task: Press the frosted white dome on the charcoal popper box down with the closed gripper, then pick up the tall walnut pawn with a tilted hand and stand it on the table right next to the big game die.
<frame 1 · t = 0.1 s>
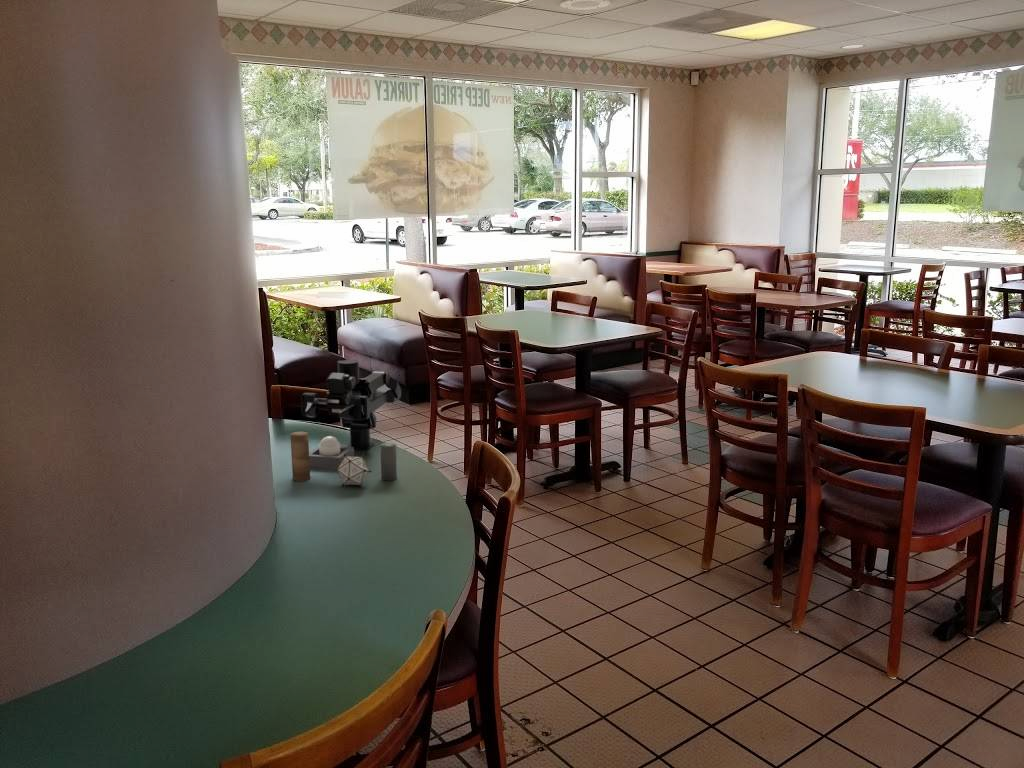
hand: (322, 414, 214), 17 cm above the table, tool horizontal, fingers open, 9 cm apart
dome: (329, 446, 227), point 4 cm above the table, slide at 0.0 cm
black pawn: (389, 478, 216), on the table
walnut pawn: (301, 478, 215), on the table
game die: (353, 486, 210), on the table
popper box: (330, 462, 228), on the table
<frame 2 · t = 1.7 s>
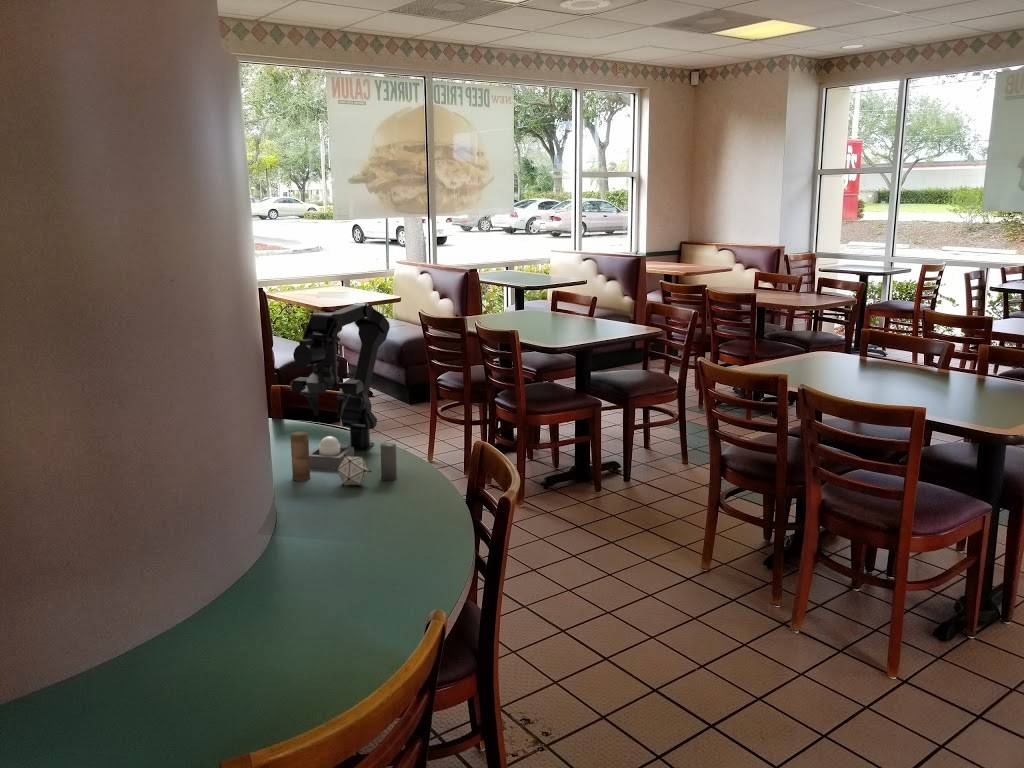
hand: (328, 416, 225), 13 cm above the table, tool pointing down, fingers open, 6 cm apart
nothing on the table moved.
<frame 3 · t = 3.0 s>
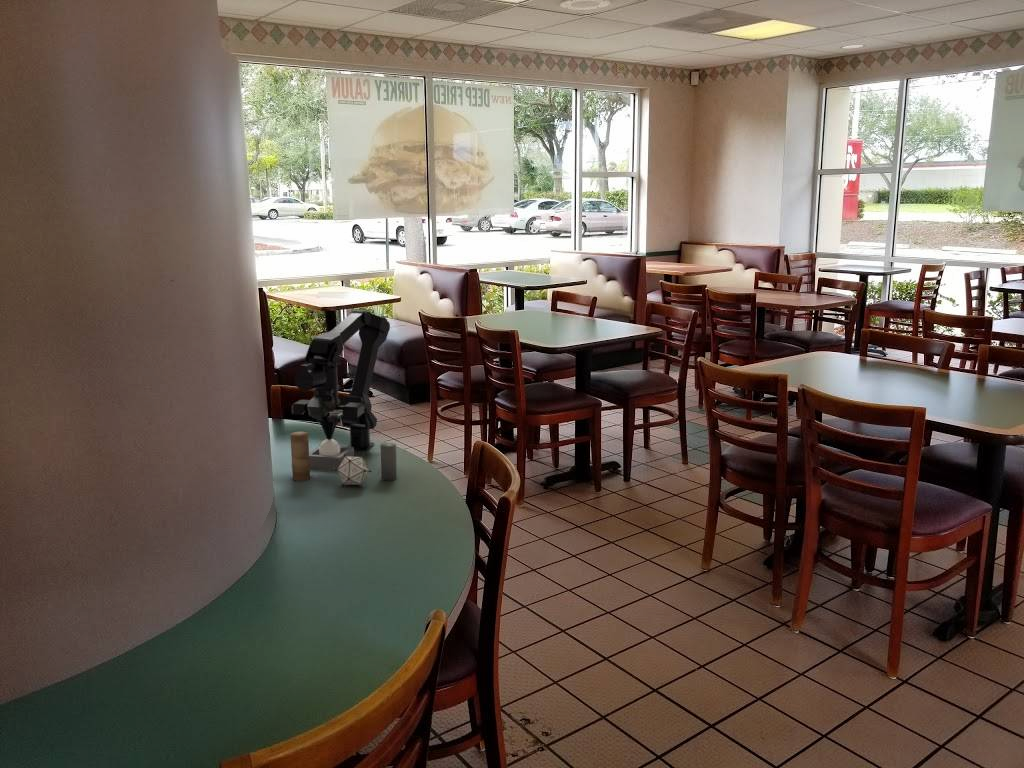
hand: (329, 439, 226), 7 cm above the table, tool pointing down, fingers closed, pressing on dome
dome: (329, 449, 227), point 4 cm above the table, slide at 0.8 cm, touching gripper
everything else where it was.
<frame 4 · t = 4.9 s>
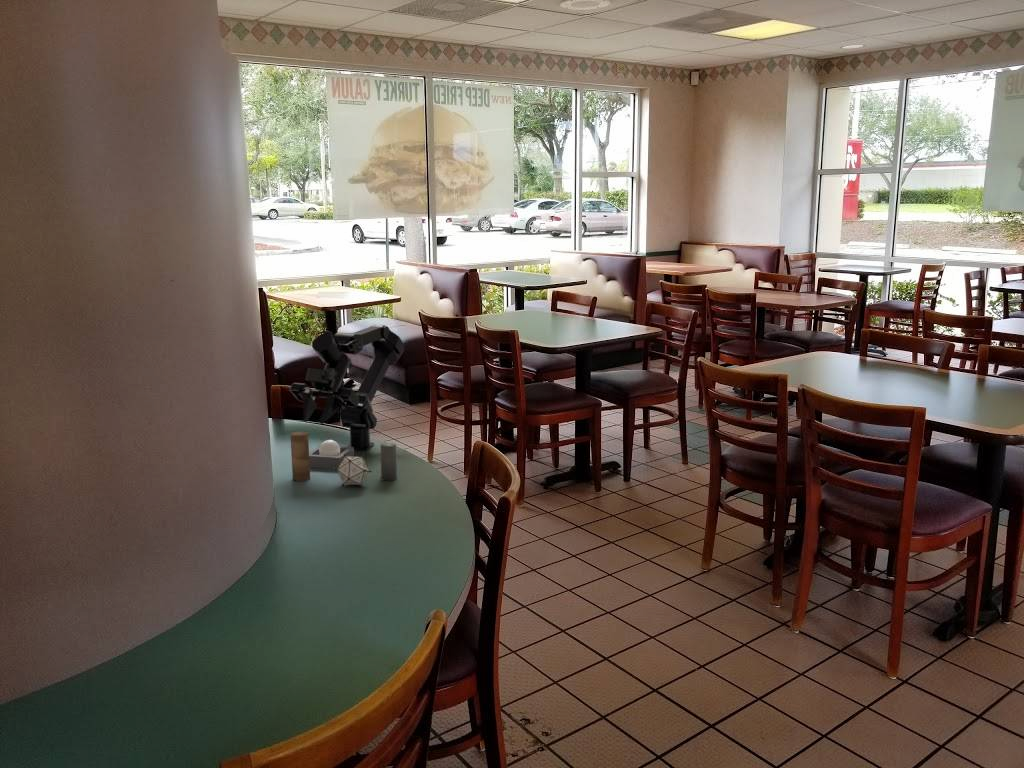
hand: (312, 422, 217), 14 cm above the table, tool tilted 45°, fingers open, 5 cm apart
dome: (329, 450, 227), point 3 cm above the table, slide at 1.1 cm
everything else where it was.
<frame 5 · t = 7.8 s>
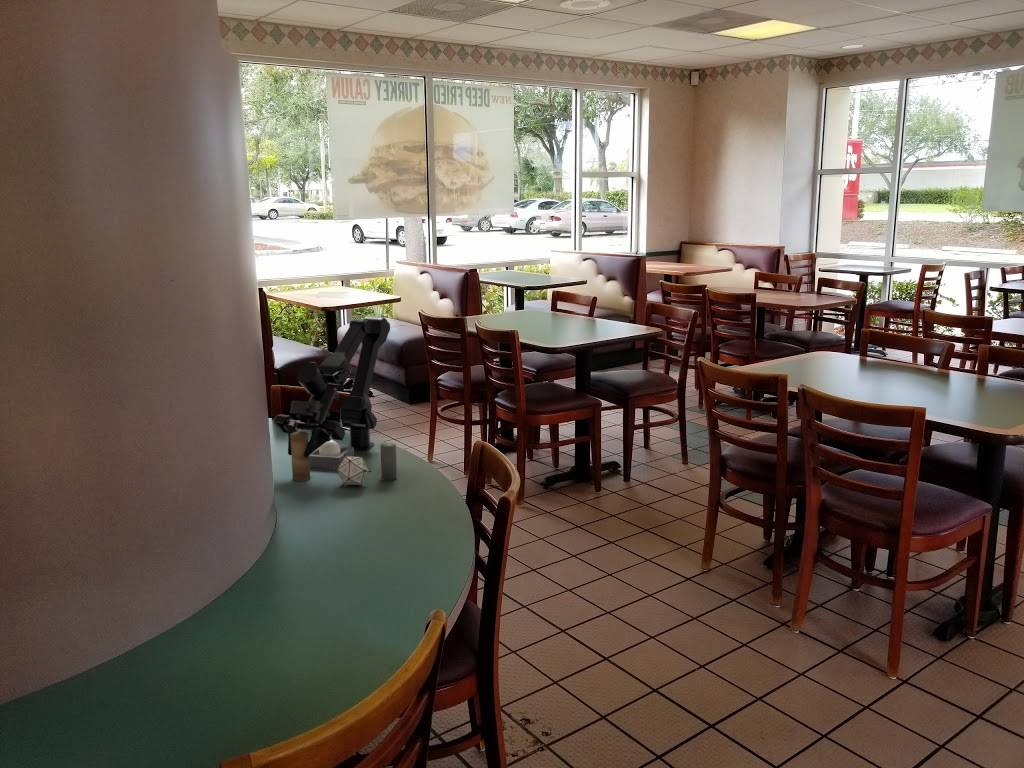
hand: (297, 455, 212), 7 cm above the table, tool tilted 45°, fingers closed on walnut pawn, 4 cm apart
walnut pawn: (301, 478, 215), on the table, touching gripper
everything else where it was.
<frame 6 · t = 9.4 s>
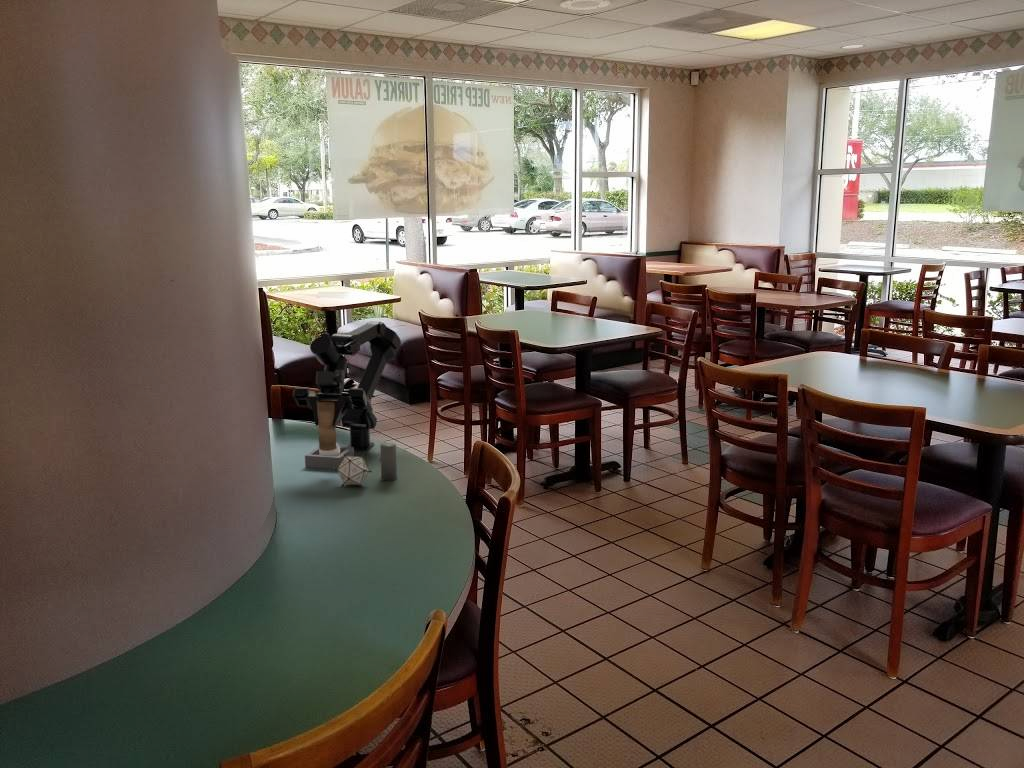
hand: (325, 425, 215), 13 cm above the table, tool tilted 45°, fingers closed on walnut pawn, 4 cm apart
walnut pawn: (327, 448, 218), point 7 cm above the table, touching gripper
everything else where it was.
when the fingers open (8 cm above the table, at t = 11.5 s): walnut pawn drops 1 cm, on the table.
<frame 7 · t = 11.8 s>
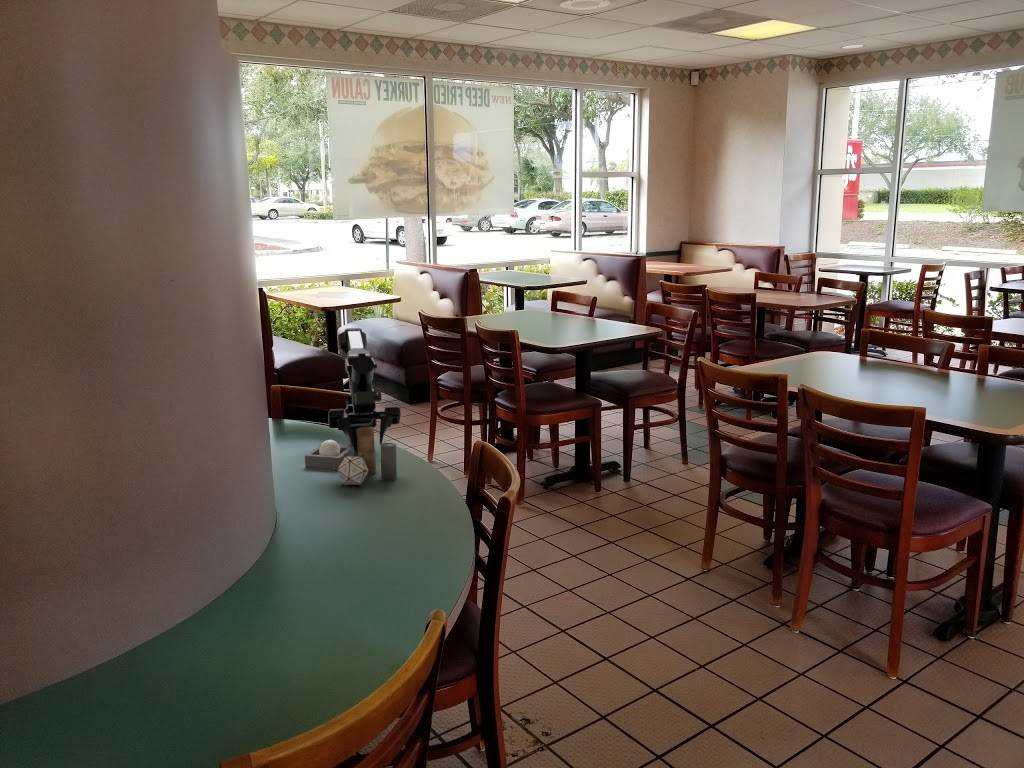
hand: (367, 444, 217), 8 cm above the table, tool tilted 45°, fingers open, 7 cm apart
walnut pawn: (367, 472, 220), on the table
everything else where it was.
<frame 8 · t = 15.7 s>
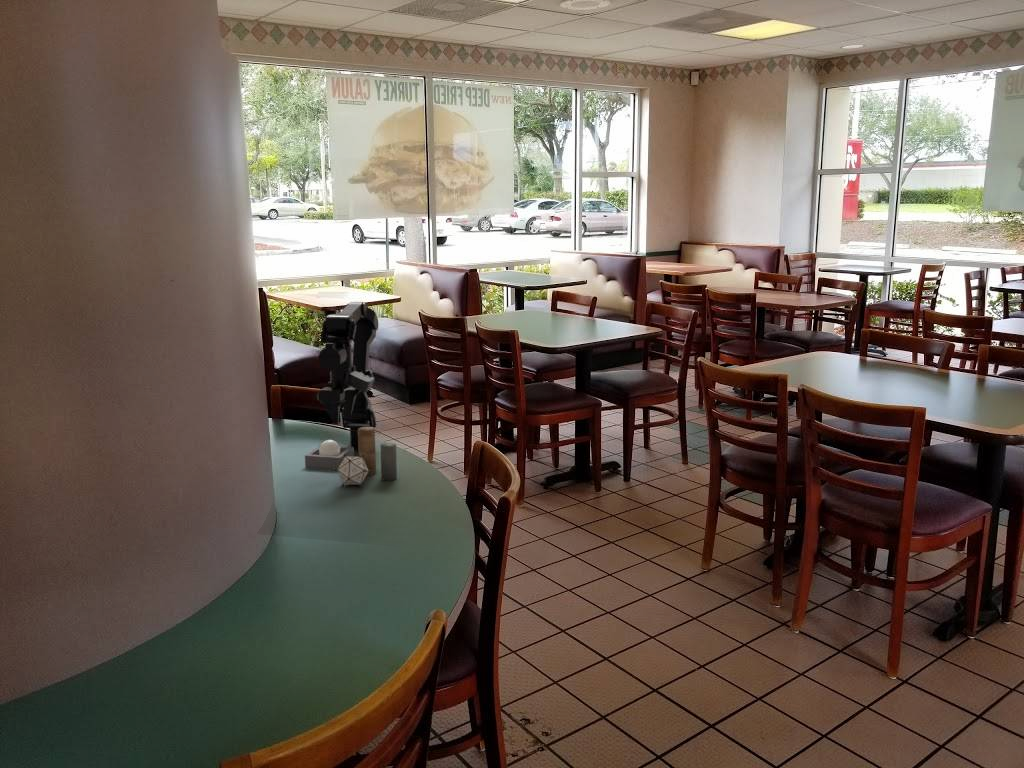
hand: (342, 419, 222), 13 cm above the table, tool pointing down, fingers open, 9 cm apart
nothing on the table moved.
at the end: walnut pawn inside the target area on the table beside the game die (0.2 cm from its centre), on the table; walnut pawn tilted 0°; dome slide at 1.1 cm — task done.
